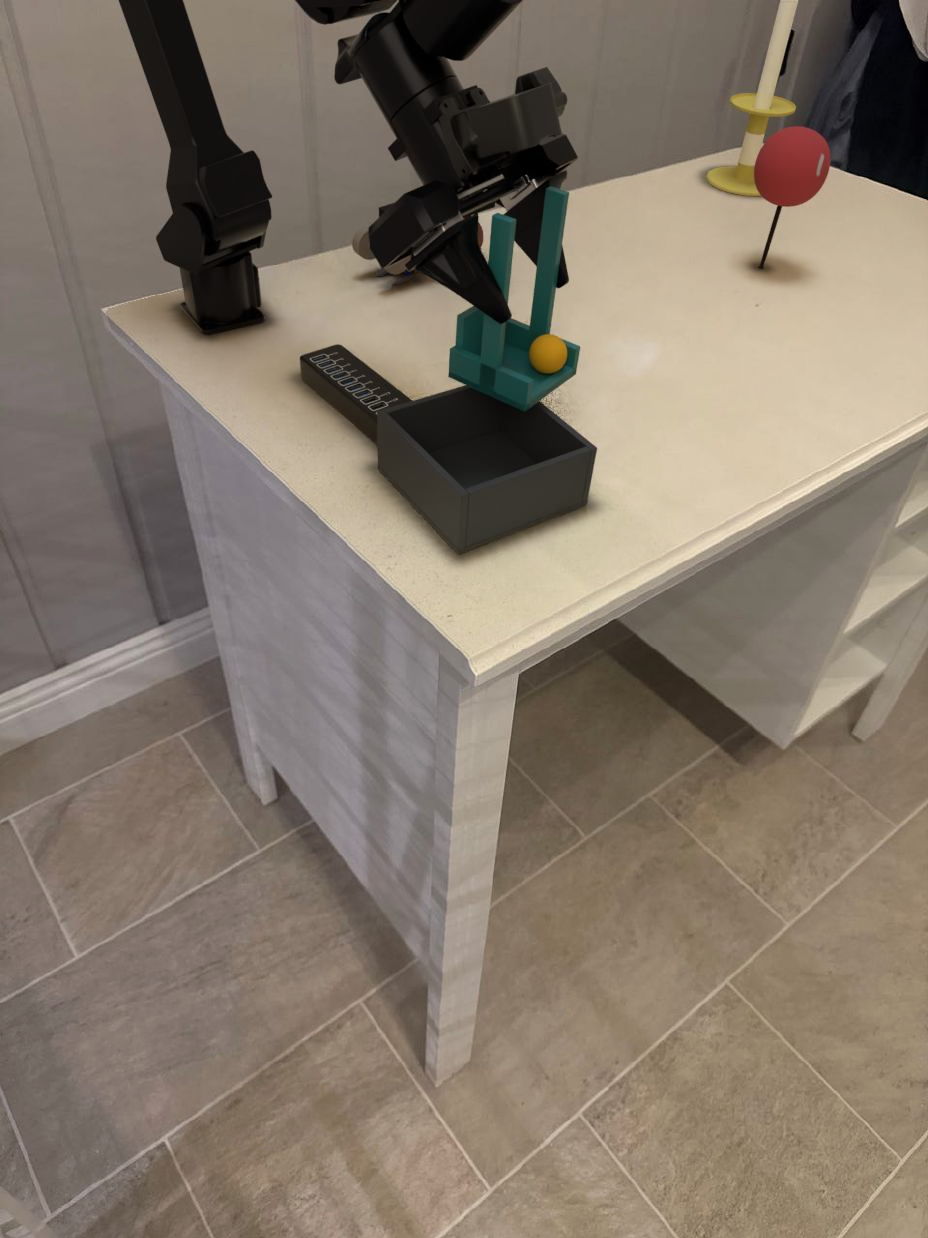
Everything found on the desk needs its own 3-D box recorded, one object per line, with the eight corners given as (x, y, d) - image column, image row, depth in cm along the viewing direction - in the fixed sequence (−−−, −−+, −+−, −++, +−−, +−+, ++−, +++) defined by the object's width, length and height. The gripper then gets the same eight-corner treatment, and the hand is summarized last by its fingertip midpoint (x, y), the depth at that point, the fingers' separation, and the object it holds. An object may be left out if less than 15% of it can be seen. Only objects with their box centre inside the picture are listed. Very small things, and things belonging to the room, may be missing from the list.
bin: (458, 555, 68) (462, 495, 64) (377, 469, 75) (376, 410, 71) (586, 505, 73) (597, 447, 69) (500, 429, 80) (505, 372, 76)
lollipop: (723, 274, 105) (760, 132, 94) (735, 248, 110) (771, 111, 99) (790, 288, 103) (836, 146, 93) (799, 262, 108) (843, 124, 98)
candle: (766, 201, 121) (836, -47, 102) (695, 183, 125) (749, -61, 106) (788, 179, 128) (857, -58, 109) (720, 163, 131) (775, -71, 112)
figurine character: (392, 310, 97) (497, 260, 103) (385, 241, 92) (497, 193, 98) (355, 286, 101) (459, 239, 107) (346, 218, 95) (456, 173, 101)
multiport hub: (340, 364, 86) (339, 342, 85) (432, 438, 79) (433, 415, 77) (299, 378, 84) (297, 355, 83) (389, 455, 76) (389, 431, 75)
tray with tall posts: (447, 377, 73) (457, 202, 63) (501, 342, 77) (518, 174, 67) (525, 411, 70) (547, 234, 60) (576, 374, 74) (604, 203, 65)
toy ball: (541, 366, 70) (570, 377, 72) (550, 327, 70) (579, 339, 72) (517, 368, 72) (545, 379, 74) (526, 330, 72) (554, 342, 74)
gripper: (403, 52, 53) (540, 297, 56) (573, 3, 64) (679, 211, 67) (310, 160, 62) (434, 366, 65) (475, 101, 73) (573, 280, 76)
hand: (536, 302), depth 68 cm, fingers closed on tray with tall posts, 7 cm apart
